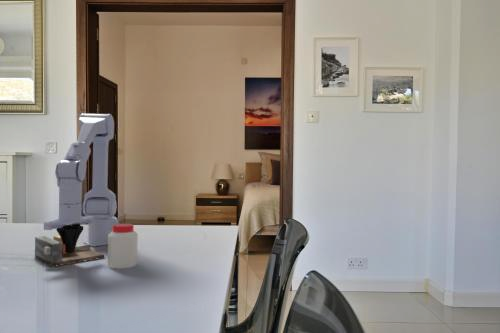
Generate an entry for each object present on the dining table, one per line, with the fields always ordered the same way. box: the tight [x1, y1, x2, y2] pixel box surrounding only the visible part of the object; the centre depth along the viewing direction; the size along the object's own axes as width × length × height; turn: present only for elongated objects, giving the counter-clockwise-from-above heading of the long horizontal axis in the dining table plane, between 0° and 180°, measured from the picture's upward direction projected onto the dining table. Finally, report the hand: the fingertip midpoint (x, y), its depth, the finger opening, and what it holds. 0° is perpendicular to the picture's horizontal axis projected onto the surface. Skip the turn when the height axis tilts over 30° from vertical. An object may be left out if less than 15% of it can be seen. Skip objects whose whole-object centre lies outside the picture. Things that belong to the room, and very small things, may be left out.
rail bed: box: [34, 235, 105, 267], centre depth 114 cm, size 14×13×6 cm
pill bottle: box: [107, 223, 139, 270], centre depth 108 cm, size 8×8×11 cm
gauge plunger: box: [44, 244, 65, 255], centre depth 106 cm, size 5×2×2 cm, turn 137°
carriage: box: [53, 234, 63, 244], centre depth 116 cm, size 5×4×4 cm
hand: (69, 252), depth 109 cm, fingers closed
